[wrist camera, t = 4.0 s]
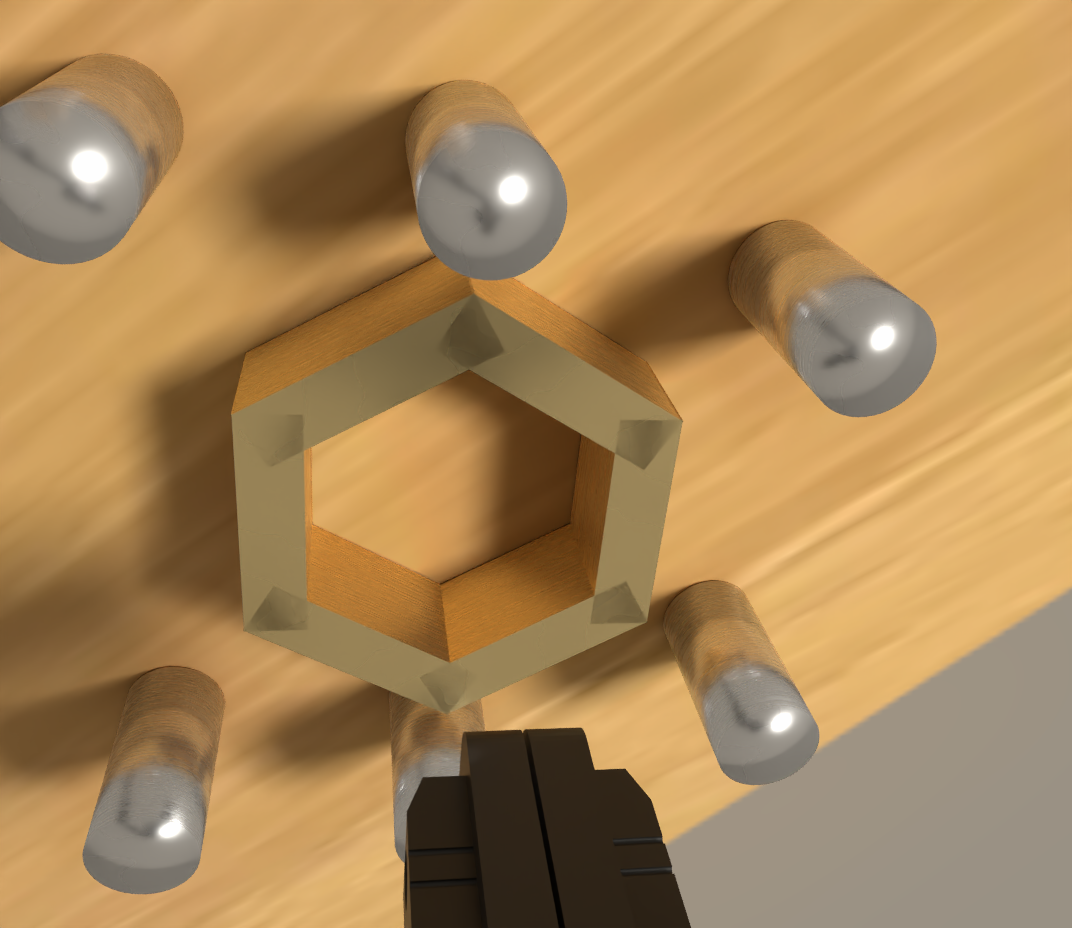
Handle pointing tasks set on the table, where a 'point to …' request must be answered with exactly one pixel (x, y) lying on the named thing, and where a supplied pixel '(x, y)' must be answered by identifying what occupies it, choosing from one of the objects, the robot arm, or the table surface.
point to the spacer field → (481, 253)
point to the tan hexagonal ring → (495, 587)
